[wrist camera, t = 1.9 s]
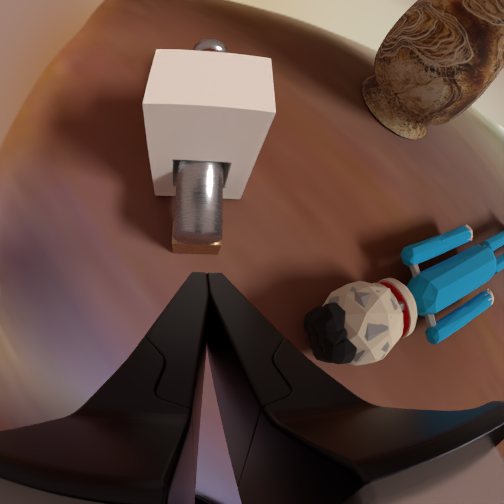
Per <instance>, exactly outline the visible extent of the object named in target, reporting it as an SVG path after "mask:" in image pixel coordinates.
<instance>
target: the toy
mask: <svg viewBox="0 0 504 504" xmlns="http://www.w3.org/2000/svg"><path fill="white" fill-rule="evenodd" d="M472 233H473V230H472V229H471V228H470V227H469V226H468V225H467V224H466V225H464V226H461V227H458V228H456V229H454V230H451V231H449V232H446V233H444V234H442V235H438V236H434V237H431V238H429V239H426V240H423V241H420V242H418V243H415V244H412V245H409V246H406V247H404V248H403V250H402V252H401V258H402V261H403V264H405V265H406V266H408V267H409V268H410V270H411V273H412V275H413V276H412V278H411V279H410V281H409V283H408V285H407V286H405V285H404V284H402V283H401V282H399V281H398V280H396V279H393V278H385V279H382V280H380V281H378V282H377V283H372V284H371V283H367V282H363V281H357V282H352V283H349V284H346V285H344V286H342V287H340V288H339V289H337V290H335V291H333V292H331V293H330V295H329V296H328V298H327V300H326V301H325V303H324V304H323V306H322V307H318V306H317V307H316V308H315V309H313V310H312V311H310V312H309V313H307V314H306V316H305V320H304V327H305V331H306V333H307V334H308V335H309V342H310V347H312V350H313V355H314V356H315V358H316V359H317V360H320V361H323V362H328V363H335V364H344V363H345V364H348V365H354V366H356V365H366V364H369V363H374V362H377V361H379V360H381V359H383V358H384V357H385V356H386V355H387V354H388V352H389V351H390V350H391V349H392V347H393V346H394V345H395V343H396V342H397V341H398V340H400V339H403V338H405V337H407V336H408V335H410V334H411V333H412V332H413V330H414V328H415V325H416V320H417V314H418V315H420V316H423V317H425V319H426V323H427V327H428V328H427V330H426V332H425V333H426V337H427V340H428V342H430V343H432V344H438V343H439V342H441V341H442V340H444V339H445V338H447V337H448V336H450V335H451V334H453V333H454V332H455V331H457V330H458V329H460V328H461V327H463V326H464V325H466V324H467V323H468V322H469V321H470V320H472V319H473V318H475V317H476V316H477V315H479V314H480V313H482V312H483V311H484V310H486V309H487V308H488V307H490V306H491V305H492V304H493V301H494V296H493V294H492V292H491V290H489V289H488V288H487V289H486V291H484V292H481V293H479V294H478V295H476V296H475V297H474V298H472V299H471V300H469V301H468V302H466V303H465V304H463V305H462V306H461V307H458V308H457V309H455V310H454V311H452V312H451V313H449V314H448V315H446V316H445V317H443V318H441V319H440V320H438V321H437V322H436V321H435V317H434V314H435V313H437V312H439V311H440V310H442V309H444V308H446V307H447V306H449V305H451V304H452V303H454V302H456V301H457V300H459V299H461V298H462V297H464V296H465V295H467V294H469V293H470V292H472V291H473V290H475V289H477V288H478V287H480V286H481V285H483V284H484V283H486V282H487V281H489V280H490V279H491V277H492V276H493V275H494V274H496V273H498V272H499V271H501V270H502V269H503V268H504V254H502V255H501V256H499V257H498V258H496V257H495V255H494V253H493V251H494V250H496V249H497V248H499V247H501V246H502V245H504V230H503V231H501V232H499V233H498V234H496V235H494V236H492V237H491V238H489V239H487V240H485V241H484V242H482V243H481V245H477V244H476V245H475V246H473V247H471V248H469V249H467V250H465V251H463V252H461V253H459V254H457V255H455V256H453V257H451V258H448V259H446V260H444V261H442V262H440V263H438V264H436V265H434V266H432V267H430V268H427V269H425V270H423V271H421V272H420V270H419V267H418V264H419V263H422V262H424V261H427V260H429V259H431V258H434V257H436V256H438V255H441V254H443V253H445V252H447V251H449V250H451V249H453V248H456V247H458V246H460V245H462V244H464V243H467V242H469V241H472V238H473V235H472Z"/></svg>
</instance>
